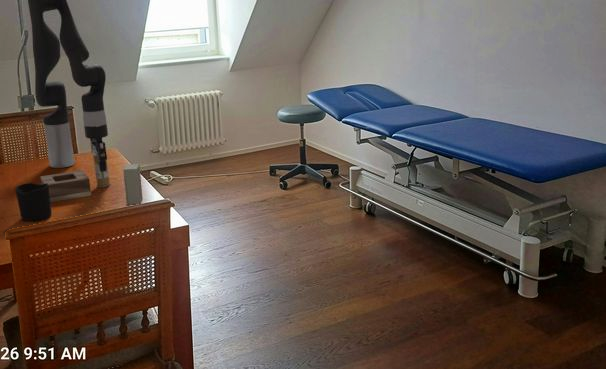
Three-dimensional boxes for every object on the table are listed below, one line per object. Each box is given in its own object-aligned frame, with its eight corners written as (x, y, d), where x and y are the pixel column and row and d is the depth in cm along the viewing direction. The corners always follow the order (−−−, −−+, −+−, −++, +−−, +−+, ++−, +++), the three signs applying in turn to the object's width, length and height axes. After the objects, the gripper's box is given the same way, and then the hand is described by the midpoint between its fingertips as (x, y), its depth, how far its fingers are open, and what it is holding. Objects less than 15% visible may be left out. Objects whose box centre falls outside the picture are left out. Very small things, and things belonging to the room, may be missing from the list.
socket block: (42, 193, 219) (40, 176, 217) (84, 186, 225) (82, 170, 224) (47, 202, 209) (45, 185, 207) (91, 195, 215) (89, 178, 214)
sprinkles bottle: (111, 186, 225) (107, 149, 221) (98, 188, 223) (94, 151, 219) (107, 183, 229) (103, 147, 225) (95, 185, 226) (90, 149, 222)
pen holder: (46, 210, 202) (41, 180, 199) (57, 217, 195) (53, 186, 192) (16, 217, 196) (10, 186, 193) (26, 225, 189) (21, 193, 186)
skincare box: (129, 199, 211) (126, 163, 207) (143, 198, 211) (139, 163, 207) (126, 205, 205) (122, 169, 201) (140, 204, 205) (136, 168, 201)
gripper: (80, 121, 223) (86, 165, 228) (87, 128, 211) (93, 174, 216) (102, 118, 226) (107, 162, 231) (110, 125, 214) (116, 171, 219)
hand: (100, 168), depth 223 cm, fingers open, 8 cm apart
